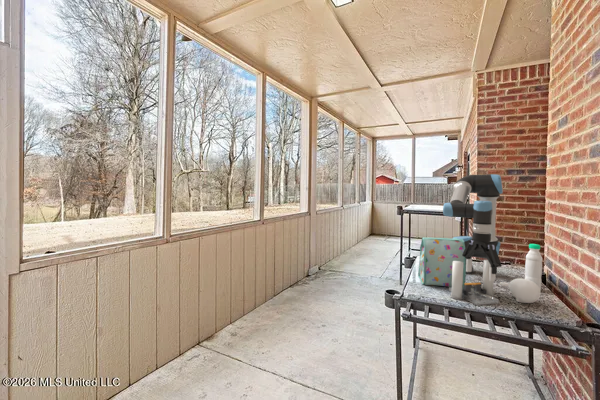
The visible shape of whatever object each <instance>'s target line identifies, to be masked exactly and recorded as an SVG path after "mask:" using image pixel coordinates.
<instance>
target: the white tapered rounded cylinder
mask: <svg viewBox="0 0 600 400" xmlns="http://www.w3.org/2000/svg"><path fill="white" fill-rule="evenodd" d="M462 285H463V262H461V261H453V266H452V291H451V292H450V293H451V294H450V296H449V297H450V298H451V299H452V298H453V300H456V299H457V301H462V300H463V299H464V298H463V297H462Z"/></svg>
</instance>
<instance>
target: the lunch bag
mask: <svg viewBox="0 0 600 400" xmlns="http://www.w3.org/2000/svg"><path fill="white" fill-rule="evenodd" d="M419 250H420V251H419V262H418V271H417V272H418V273H417V277H418V278H419V280H420V282H421V284H422V285H426V286H437V287H446V288H449V287H452V266H453V261H461V262H463V285H462V287H464V283H466V278H467V277H466V276H467V274H466V262H465V261H466V258H465V257H464V256H462V254H463V252H464V250H465V244H464V240H463V239H457V238H453V237H452V238H450V237H449V238H448V237H430V236H429V237H422V238H421V242H420V246H419Z"/></svg>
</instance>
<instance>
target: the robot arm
mask: <svg viewBox="0 0 600 400" xmlns="http://www.w3.org/2000/svg"><path fill="white" fill-rule="evenodd" d="M503 193H504V191H503V182H502V176H501V175H500V174H496V173H495V174H490V173H488V174H486V173H485V174H469V175H465V176H463V177H461V178H459V179H458V180H457V181H456V182H455V183H454V185H453V193H452V196H451V199H450V201H449V202H445V203H443V206H442V213H443V216H444V217H451V218H468V219H472V235H471V236H470V235H469V236H468V235H459V236H453V237H452V238H457V239H463V240H464V244H465V250H464V252H463V254H462V256H464V257H465V258H466V261H465V262H466V275H468V274H469V275H471V274H472V275H473V274H474V272H475V269H474V265H473V259H472V258H479V259H484V260H488V261H489V263H490V265H491V266H489V281H496V276H497V274H498V268H500V267H502V263H501V260H500V257H499V254H500V253H499V252H500V248H501V241H499V239H498V237H496V223H497V222H496V219H497V218H496V217H497V199H498V198H500V195H501V194H503ZM469 194H476V197H478V198H479V200H474V202H473V203H467V199H468V196H469Z"/></svg>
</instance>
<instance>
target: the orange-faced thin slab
mask: <svg viewBox="0 0 600 400" xmlns="http://www.w3.org/2000/svg"><path fill="white" fill-rule="evenodd" d="M472 286H473V288H474V291H476V292H481V288H482V283H481V282H465V283H464V290H467V291H468V292H471V288H472Z"/></svg>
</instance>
